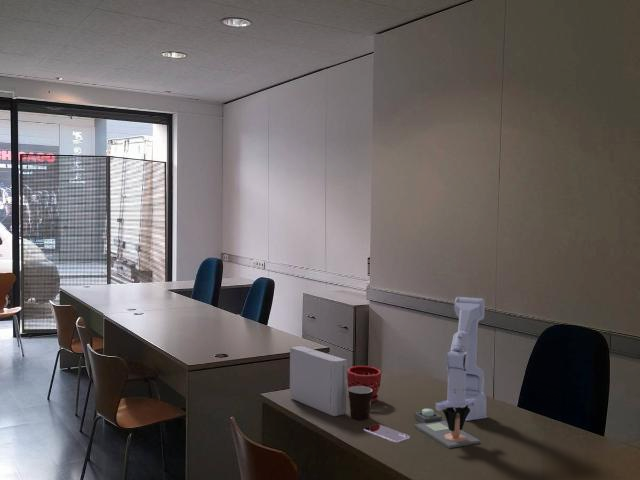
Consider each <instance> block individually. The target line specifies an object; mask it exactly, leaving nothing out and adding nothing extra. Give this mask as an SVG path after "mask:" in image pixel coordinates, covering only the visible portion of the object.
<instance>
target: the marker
mask: <svg viewBox="0 0 640 480" xmlns="http://www.w3.org/2000/svg"><path fill="white" fill-rule="evenodd" d="M451 436H453V437H459V436H460V414H459V413H457V415H456V419H455V429H454V431H451Z"/></svg>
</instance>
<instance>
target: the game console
mask: <svg viewBox="0 0 640 480" xmlns="http://www.w3.org/2000/svg"><path fill="white" fill-rule="evenodd" d="M289 352H290V353H289V393H290V395H291V398H292V400H295V401H296V402H299V403H301V404H304V405H305V406H309V407H311V408H312V409H313V408H314V409H316V410H318V411H320V412H323V413H325V414H328V415H330V416H332V417H337V416H342V415H346V414H347V383H348V381H347V371H348V367H347V366H348V360H347V359H346V358H342V357H339V356H335V355H332V354H330V353H327V352H322V351H319V350H316V349H313V348H310V347H308V346H304V345H297V346H291V347H289Z"/></svg>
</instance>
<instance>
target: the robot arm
mask: <svg viewBox="0 0 640 480" xmlns="http://www.w3.org/2000/svg"><path fill="white" fill-rule="evenodd" d="M453 306H454V309H453V310H454V313H455V316H456V317H458V324H457V325H458V327H457V332H455V333H453V335H452V336H453V337H452V341H451V346H450V350H449V351H447V353H446V357H445V365H446V374H447V393H446V394H447V395H446V396H447V397H446V400H443V401H441V402H435V410H436V411H438V412H441V411H442V413H443V415H444V416H445V419H446V422H447V423H448V428H449V430H451V431H454V429H455V419H456V415H457V413H459V414H460V430H462V431H463V428H464V425H465V423H466V422H465V421H473V420H474V421H476V420H481V419H482V420H483V419H487V418H488V416H487V396H486V394H485V393H484V390H485V372H484V370H483V369H482V368H480V366H478V365H477V359H478V357H477V355H478V329H479V328H478V327H479V326H478V325H479V322H480V321H483V320H484V319H485V312H486V311H485V310H486V302H485V299H484V298H482V297H481V298H480V297H479V298H477V297H464V296H456V298H455V299H454V305H453Z"/></svg>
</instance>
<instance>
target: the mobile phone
mask: <svg viewBox="0 0 640 480" xmlns="http://www.w3.org/2000/svg"><path fill="white" fill-rule="evenodd" d="M363 431H365V432H367V433H369V434H372V435H375V436H377V437H381V438H382V439H385V440H388V441H389V442H392V443H400V442H402V441H406V440H408V439H410V438H411V437H410V435H409V434H406V433H403V432H400V431H398V430H396V429H393V428H390V427H388V426H384V425H382V424H378V423H376V424H373V425H369V426H367V427H364V428H363Z"/></svg>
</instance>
